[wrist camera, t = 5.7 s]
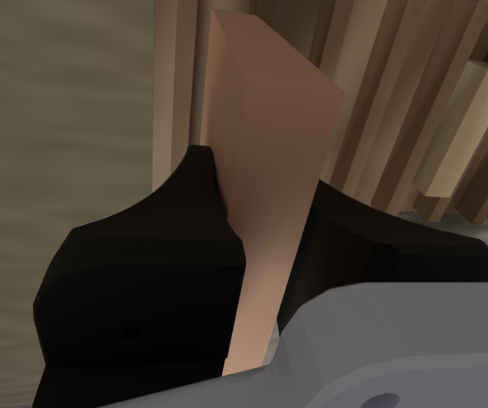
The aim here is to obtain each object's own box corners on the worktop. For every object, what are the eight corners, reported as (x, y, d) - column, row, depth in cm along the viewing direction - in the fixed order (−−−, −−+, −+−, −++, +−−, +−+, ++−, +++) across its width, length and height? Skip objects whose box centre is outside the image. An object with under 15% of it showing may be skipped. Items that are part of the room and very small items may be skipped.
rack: (627, 18, 20) (680, 25, 18) (502, 210, 27) (529, 231, 25) (156, -71, 15) (151, -76, 13) (153, 193, 22) (150, 218, 20)
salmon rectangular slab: (257, 15, 13) (345, 93, 6) (226, 219, 18) (254, 390, 11) (211, 8, 12) (247, 81, 5) (193, 217, 17) (200, 394, 10)
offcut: (477, 59, 19) (516, 72, 17) (422, 173, 23) (449, 197, 21) (451, 55, 19) (488, 68, 17) (400, 172, 23) (425, 196, 20)
